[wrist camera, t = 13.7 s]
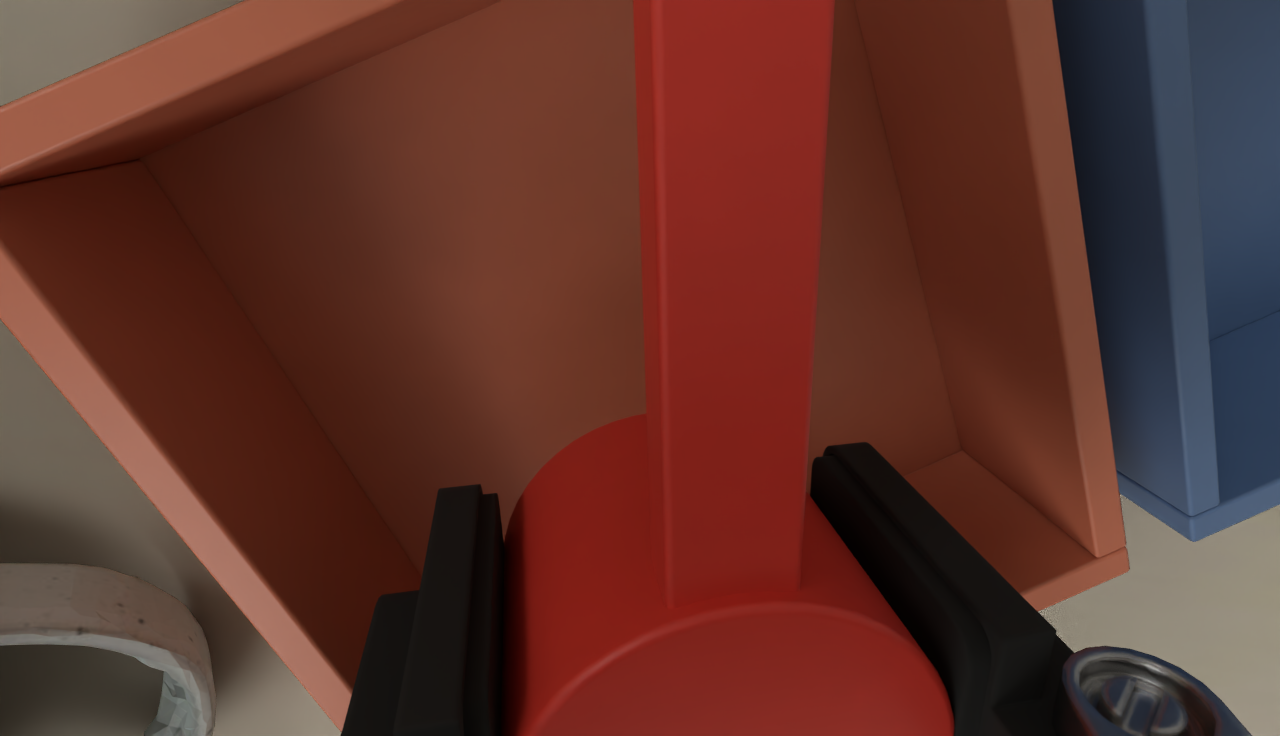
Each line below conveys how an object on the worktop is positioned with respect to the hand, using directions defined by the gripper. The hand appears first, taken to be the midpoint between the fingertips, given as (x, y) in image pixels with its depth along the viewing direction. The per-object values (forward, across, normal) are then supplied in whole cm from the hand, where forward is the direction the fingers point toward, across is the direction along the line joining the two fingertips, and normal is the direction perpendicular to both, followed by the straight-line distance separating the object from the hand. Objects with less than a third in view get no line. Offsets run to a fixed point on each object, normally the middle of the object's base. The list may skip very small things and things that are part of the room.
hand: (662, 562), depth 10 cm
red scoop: (0, 0, -2) cm, 2 cm away
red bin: (+3, 0, -2) cm, 4 cm away
